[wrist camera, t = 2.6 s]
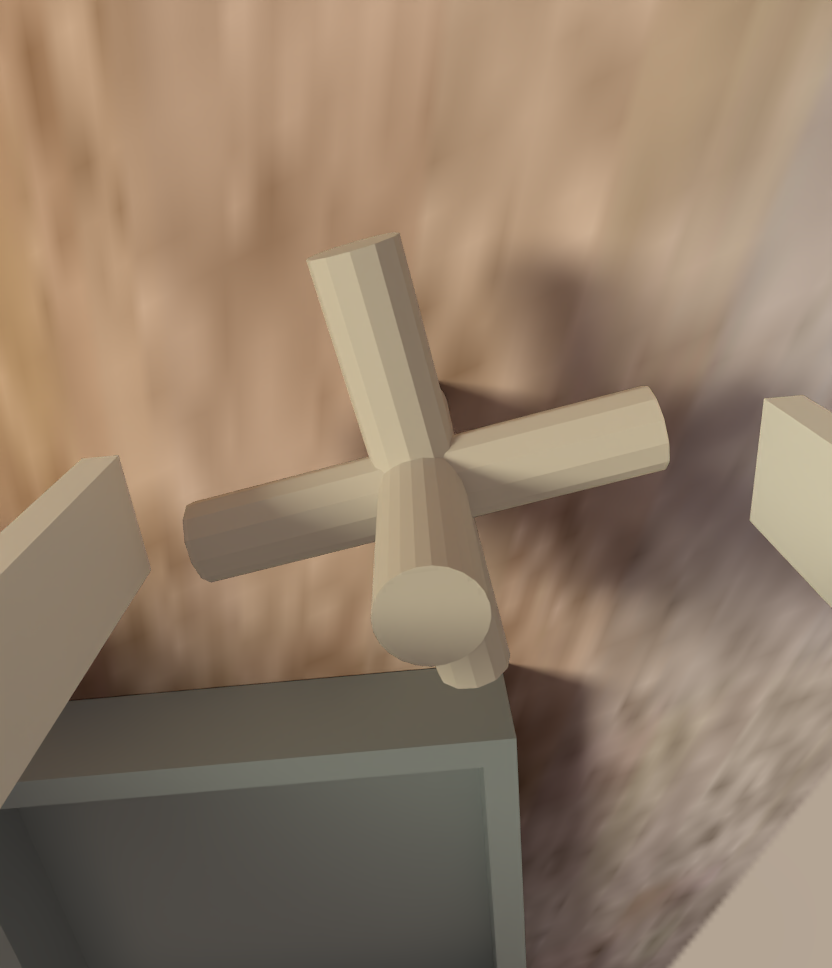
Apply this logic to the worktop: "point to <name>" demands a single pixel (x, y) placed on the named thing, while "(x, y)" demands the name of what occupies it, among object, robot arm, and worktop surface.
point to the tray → (270, 830)
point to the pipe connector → (419, 476)
